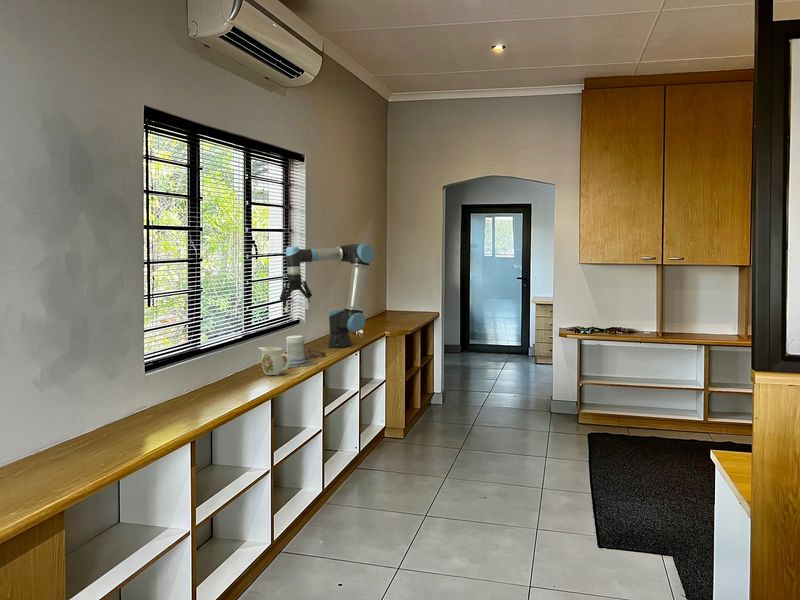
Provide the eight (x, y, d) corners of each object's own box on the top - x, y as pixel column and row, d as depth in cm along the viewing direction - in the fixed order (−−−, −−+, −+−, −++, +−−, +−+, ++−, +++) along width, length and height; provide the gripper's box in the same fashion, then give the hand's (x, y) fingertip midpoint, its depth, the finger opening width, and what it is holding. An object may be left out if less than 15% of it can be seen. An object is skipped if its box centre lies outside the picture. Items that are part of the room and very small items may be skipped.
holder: (312, 353, 411) (311, 349, 410) (325, 356, 398) (325, 352, 398) (291, 356, 402) (291, 352, 402) (304, 359, 390) (304, 355, 390)
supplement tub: (308, 363, 376) (306, 336, 375) (292, 365, 371) (290, 338, 370) (300, 360, 384) (298, 334, 383) (284, 363, 379) (283, 336, 378)
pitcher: (284, 377, 341) (283, 350, 340) (253, 376, 348) (252, 349, 347) (295, 373, 352) (294, 346, 350) (265, 372, 358) (264, 345, 357)
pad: (302, 359, 390) (302, 359, 390) (318, 363, 376) (318, 363, 376) (273, 364, 379) (273, 363, 379) (289, 368, 365) (289, 367, 365)
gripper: (309, 271, 405) (312, 307, 407) (271, 275, 389) (274, 313, 391) (316, 272, 399) (318, 308, 401) (278, 276, 383) (281, 313, 386)
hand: (297, 310), depth 396 cm, fingers open, 13 cm apart
